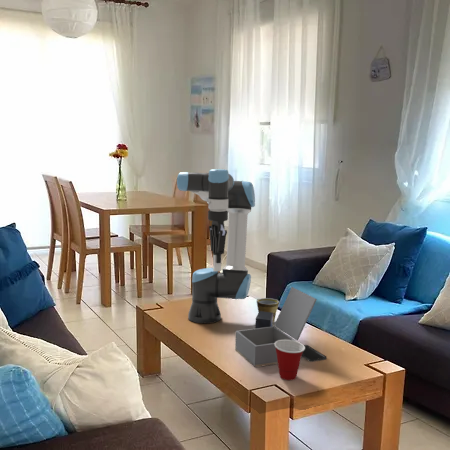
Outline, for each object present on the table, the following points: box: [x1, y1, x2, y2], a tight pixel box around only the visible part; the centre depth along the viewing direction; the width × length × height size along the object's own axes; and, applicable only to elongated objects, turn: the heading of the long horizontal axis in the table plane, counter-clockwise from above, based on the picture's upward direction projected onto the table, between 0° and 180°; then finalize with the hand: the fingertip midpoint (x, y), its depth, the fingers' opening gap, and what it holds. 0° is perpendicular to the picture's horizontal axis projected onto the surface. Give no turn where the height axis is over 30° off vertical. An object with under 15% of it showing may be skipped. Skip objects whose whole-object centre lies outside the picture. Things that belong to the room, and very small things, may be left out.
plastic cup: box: [274, 340, 305, 381], centre depth 199 cm, size 11×11×12 cm
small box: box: [254, 311, 274, 329], centre depth 237 cm, size 11×6×10 cm, turn 168°
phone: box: [301, 344, 327, 363], centre depth 222 cm, size 8×1×15 cm
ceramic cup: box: [256, 297, 280, 324], centre depth 261 cm, size 13×10×10 cm
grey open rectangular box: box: [234, 325, 297, 368], centre depth 219 cm, size 18×17×8 cm
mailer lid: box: [273, 286, 318, 342], centre depth 222 cm, size 18×17×1 cm
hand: (217, 270), depth 219 cm, fingers closed
